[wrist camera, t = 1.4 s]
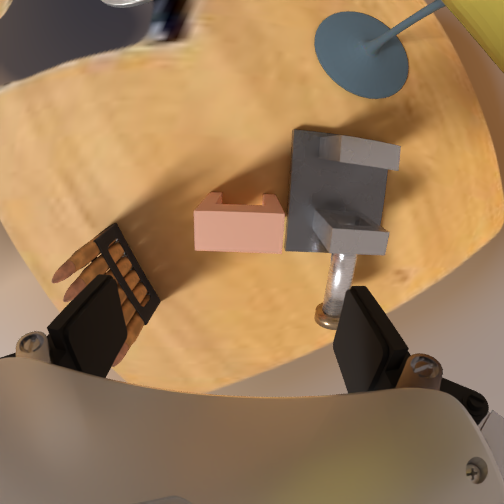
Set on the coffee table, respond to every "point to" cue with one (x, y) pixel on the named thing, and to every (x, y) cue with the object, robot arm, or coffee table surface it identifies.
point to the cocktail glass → (396, 45)
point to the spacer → (239, 225)
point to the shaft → (336, 289)
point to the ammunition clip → (121, 269)
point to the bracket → (338, 193)
